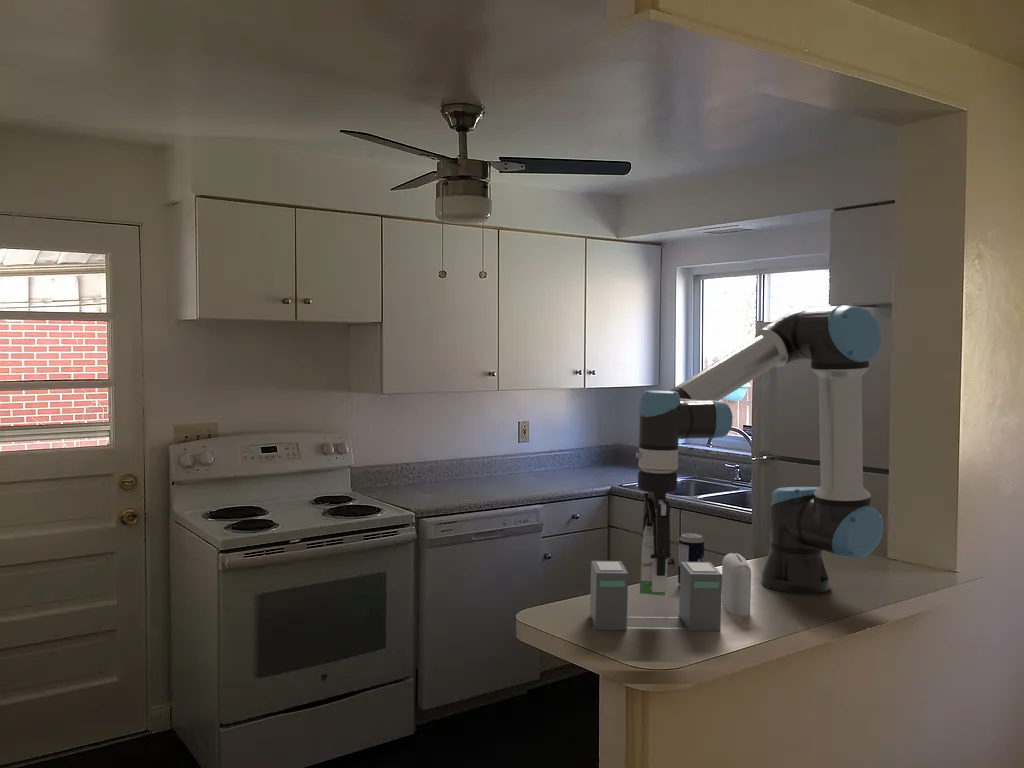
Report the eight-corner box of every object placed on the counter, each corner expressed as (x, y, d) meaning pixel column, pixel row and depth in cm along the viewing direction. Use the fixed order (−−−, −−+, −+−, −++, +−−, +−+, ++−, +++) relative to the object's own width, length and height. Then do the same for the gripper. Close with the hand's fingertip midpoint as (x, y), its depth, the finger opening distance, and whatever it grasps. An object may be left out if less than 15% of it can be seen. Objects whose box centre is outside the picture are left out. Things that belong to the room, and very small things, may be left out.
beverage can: (698, 591, 193) (700, 539, 193) (674, 587, 196) (675, 535, 196) (706, 585, 198) (707, 534, 198) (682, 581, 201) (683, 531, 200)
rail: (711, 622, 172) (711, 616, 172) (722, 636, 164) (722, 630, 164) (587, 621, 172) (587, 615, 172) (592, 635, 164) (592, 628, 164)
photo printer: (718, 605, 184) (720, 548, 183) (738, 605, 184) (740, 549, 183) (731, 621, 173) (733, 561, 173) (752, 621, 173) (754, 561, 173)
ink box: (641, 582, 172) (643, 524, 172) (667, 584, 171) (669, 525, 171) (639, 594, 164) (640, 533, 163) (666, 596, 163) (668, 535, 162)
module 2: (708, 615, 173) (710, 561, 172) (720, 631, 163) (722, 573, 163) (679, 615, 173) (680, 560, 172) (689, 631, 163) (691, 573, 163)
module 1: (619, 614, 172) (621, 560, 172) (626, 630, 163) (628, 572, 162) (590, 614, 172) (591, 559, 172) (595, 630, 163) (596, 572, 162)
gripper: (629, 461, 177) (626, 568, 178) (648, 478, 155) (644, 600, 156) (665, 462, 177) (662, 569, 178) (689, 479, 155) (685, 601, 157)
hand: (654, 583), depth 167 cm, fingers closed on ink box, 9 cm apart
